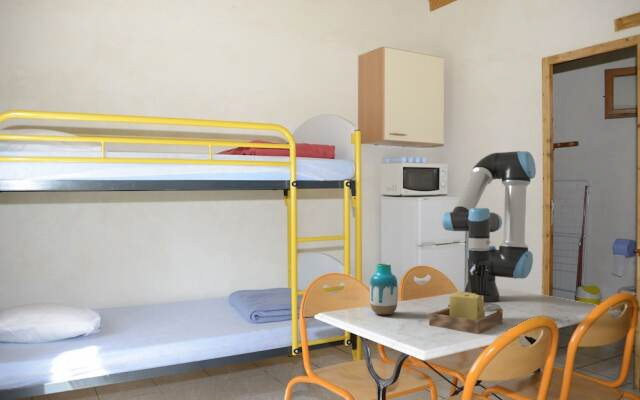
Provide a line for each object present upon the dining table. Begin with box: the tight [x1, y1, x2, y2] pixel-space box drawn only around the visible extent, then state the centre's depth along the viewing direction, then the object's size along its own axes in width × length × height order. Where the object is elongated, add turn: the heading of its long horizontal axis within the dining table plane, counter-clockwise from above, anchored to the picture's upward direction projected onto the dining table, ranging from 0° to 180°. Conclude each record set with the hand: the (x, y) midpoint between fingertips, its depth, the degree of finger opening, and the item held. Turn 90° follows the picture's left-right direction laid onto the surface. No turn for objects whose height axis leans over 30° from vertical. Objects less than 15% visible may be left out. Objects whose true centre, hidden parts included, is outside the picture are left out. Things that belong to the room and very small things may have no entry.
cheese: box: [449, 290, 486, 320], centre depth 191 cm, size 10×11×10 cm
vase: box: [369, 263, 399, 316], centre depth 204 cm, size 11×11×19 cm
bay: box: [428, 306, 504, 335], centre depth 188 cm, size 18×20×5 cm
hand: (479, 313), depth 197 cm, fingers closed
